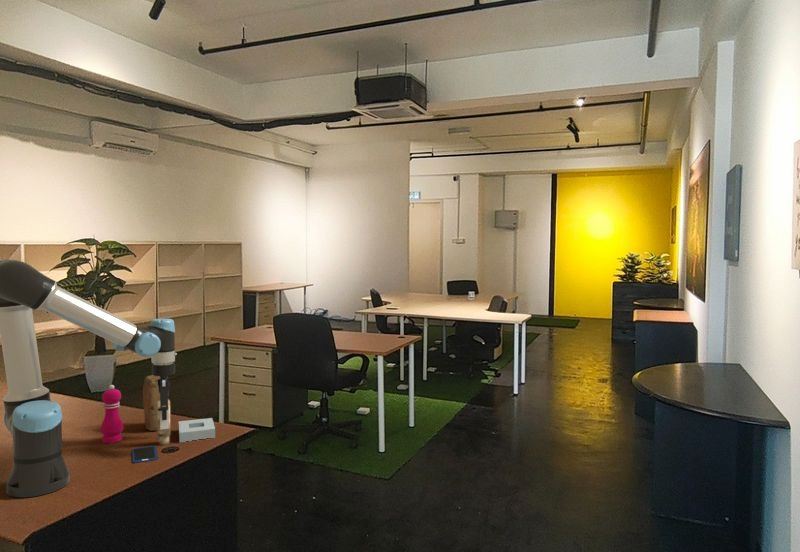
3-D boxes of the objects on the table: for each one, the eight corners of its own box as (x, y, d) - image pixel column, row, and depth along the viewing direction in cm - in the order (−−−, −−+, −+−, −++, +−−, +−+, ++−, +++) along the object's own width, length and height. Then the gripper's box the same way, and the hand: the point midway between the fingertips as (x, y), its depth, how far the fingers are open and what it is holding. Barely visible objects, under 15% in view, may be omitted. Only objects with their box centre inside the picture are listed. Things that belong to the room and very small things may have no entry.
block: (170, 429, 209) (169, 377, 208) (149, 433, 204) (148, 379, 203) (161, 422, 217) (161, 372, 216) (141, 425, 212) (140, 374, 211)
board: (179, 442, 194) (179, 432, 194) (178, 430, 207) (178, 421, 207) (215, 438, 199) (215, 428, 199) (212, 426, 212) (212, 417, 212)
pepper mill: (113, 444, 192) (113, 387, 191) (95, 443, 193) (95, 386, 192) (128, 437, 199) (127, 383, 198) (110, 436, 200) (109, 381, 199)
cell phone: (132, 464, 175) (132, 462, 175) (132, 450, 187) (132, 448, 187) (157, 461, 178) (157, 458, 178) (155, 447, 191) (155, 445, 191)
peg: (157, 446, 191) (157, 403, 190) (157, 442, 194) (157, 400, 194) (170, 444, 192) (170, 402, 192) (170, 440, 196) (170, 399, 195)
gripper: (175, 369, 182) (176, 432, 183) (174, 355, 205) (175, 412, 206) (151, 371, 179) (152, 435, 180) (152, 357, 202) (153, 414, 203)
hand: (164, 423), depth 193 cm, fingers open, 13 cm apart
